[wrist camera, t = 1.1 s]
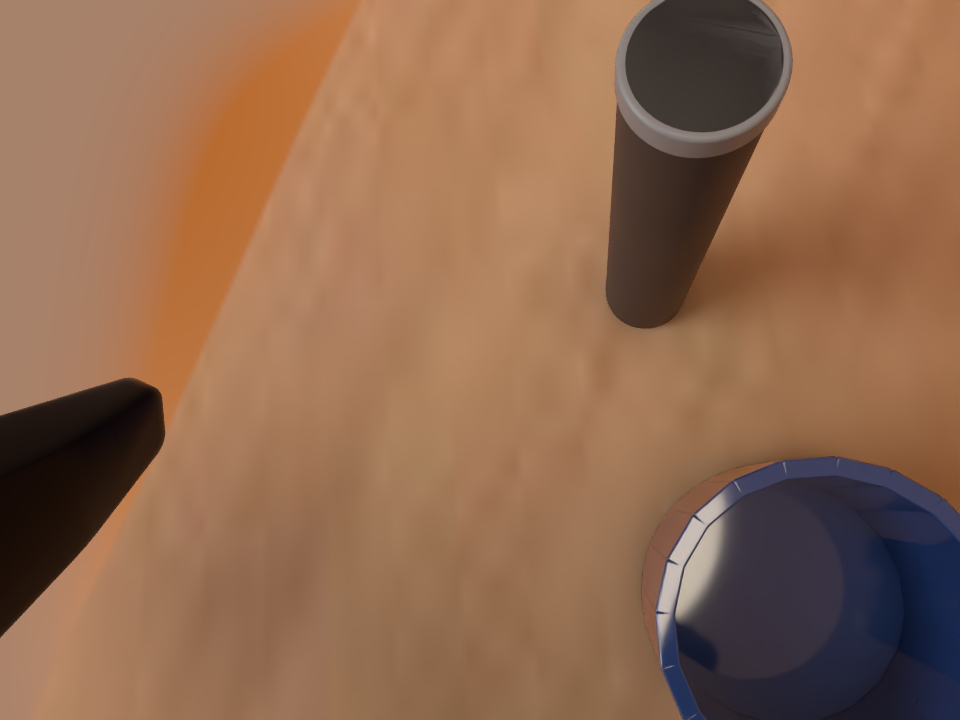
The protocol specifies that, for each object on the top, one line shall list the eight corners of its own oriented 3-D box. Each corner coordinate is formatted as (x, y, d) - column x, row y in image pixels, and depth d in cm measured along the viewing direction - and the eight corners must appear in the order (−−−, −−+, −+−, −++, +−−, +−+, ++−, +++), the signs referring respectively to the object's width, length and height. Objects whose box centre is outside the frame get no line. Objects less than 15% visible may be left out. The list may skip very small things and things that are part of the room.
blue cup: (828, 788, 20) (913, 897, 15) (594, 634, 21) (594, 681, 16) (958, 555, 21) (1088, 578, 15) (721, 419, 22) (762, 395, 17)
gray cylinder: (659, 345, 22) (738, 171, 10) (589, 305, 23) (583, 93, 11) (701, 276, 23) (827, 24, 10) (630, 238, 23) (670, -45, 11)
